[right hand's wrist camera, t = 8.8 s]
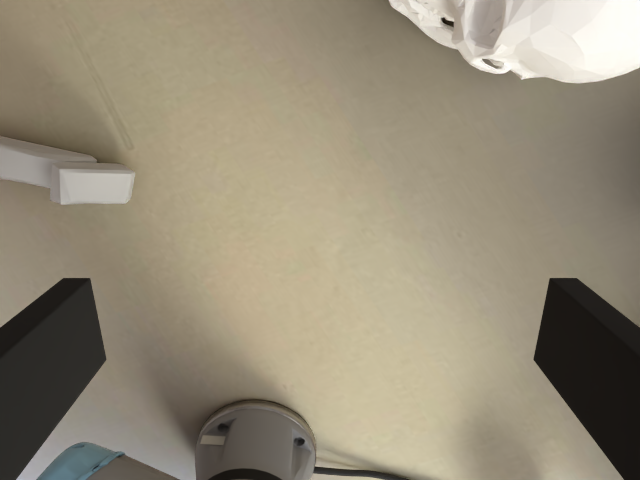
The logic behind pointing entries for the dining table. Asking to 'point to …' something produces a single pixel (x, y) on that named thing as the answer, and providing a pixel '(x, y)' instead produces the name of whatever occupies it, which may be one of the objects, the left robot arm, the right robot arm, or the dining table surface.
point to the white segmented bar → (65, 173)
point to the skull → (536, 35)
